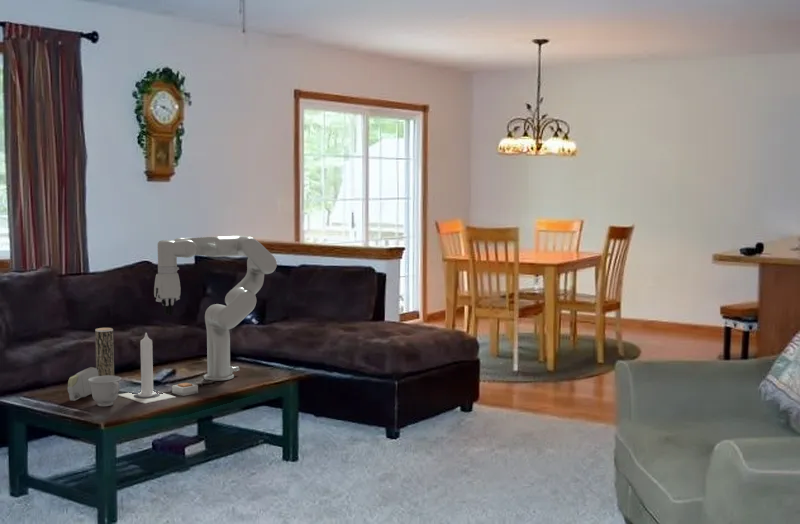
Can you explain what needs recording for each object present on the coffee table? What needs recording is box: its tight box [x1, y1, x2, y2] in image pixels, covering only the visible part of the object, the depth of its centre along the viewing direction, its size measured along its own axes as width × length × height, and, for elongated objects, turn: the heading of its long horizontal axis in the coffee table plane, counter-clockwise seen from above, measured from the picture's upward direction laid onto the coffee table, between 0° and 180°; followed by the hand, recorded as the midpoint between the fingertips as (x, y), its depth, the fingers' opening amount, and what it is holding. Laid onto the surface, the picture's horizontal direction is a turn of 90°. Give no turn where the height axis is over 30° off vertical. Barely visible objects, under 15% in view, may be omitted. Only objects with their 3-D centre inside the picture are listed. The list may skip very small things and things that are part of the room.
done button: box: [177, 382, 193, 388], centre depth 390 cm, size 4×4×2 cm
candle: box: [138, 332, 157, 397], centre depth 383 cm, size 7×7×25 cm
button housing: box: [171, 383, 199, 397], centre depth 390 cm, size 7×7×3 cm
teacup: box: [88, 375, 122, 407], centre depth 369 cm, size 12×15×10 cm
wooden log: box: [94, 327, 115, 376], centre depth 392 cm, size 7×7×25 cm
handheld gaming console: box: [67, 366, 99, 402], centre depth 382 cm, size 11×3×15 cm
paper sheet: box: [117, 392, 177, 405], centre depth 384 cm, size 14×19×1 cm
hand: (168, 314), depth 402 cm, fingers closed
